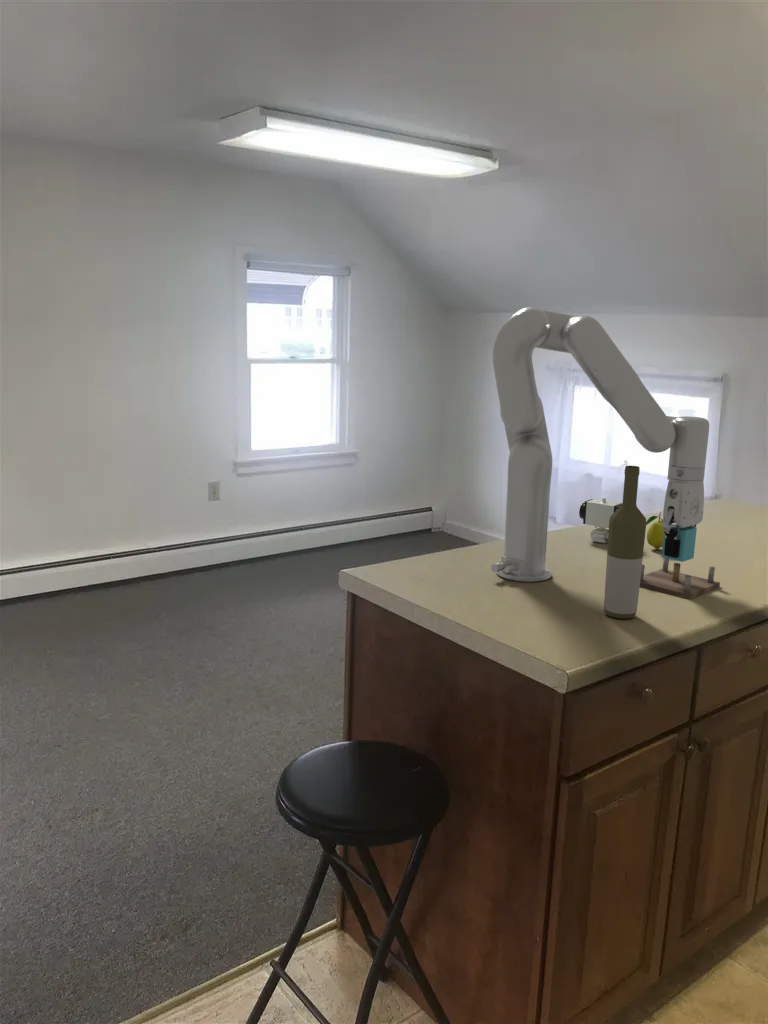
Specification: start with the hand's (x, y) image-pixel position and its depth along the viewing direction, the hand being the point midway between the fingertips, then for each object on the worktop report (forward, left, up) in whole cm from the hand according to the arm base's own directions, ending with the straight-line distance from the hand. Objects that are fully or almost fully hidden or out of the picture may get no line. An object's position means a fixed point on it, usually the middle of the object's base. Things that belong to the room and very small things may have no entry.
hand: (677, 553), depth 187 cm
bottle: (-28, -3, -8) cm, 29 cm away
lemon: (+26, +19, -8) cm, 33 cm away
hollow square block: (0, 0, -1) cm, 1 cm away
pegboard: (0, 0, -7) cm, 7 cm away
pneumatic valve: (+22, +33, -8) cm, 40 cm away
